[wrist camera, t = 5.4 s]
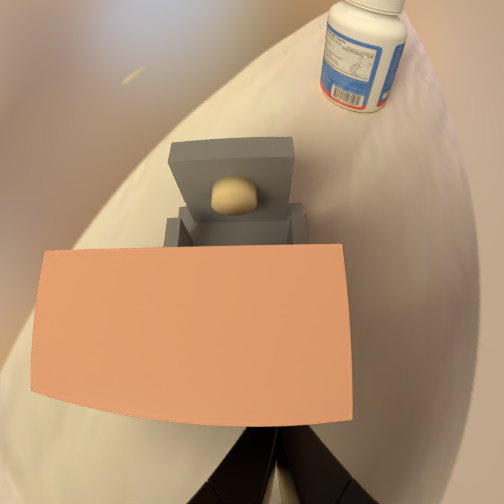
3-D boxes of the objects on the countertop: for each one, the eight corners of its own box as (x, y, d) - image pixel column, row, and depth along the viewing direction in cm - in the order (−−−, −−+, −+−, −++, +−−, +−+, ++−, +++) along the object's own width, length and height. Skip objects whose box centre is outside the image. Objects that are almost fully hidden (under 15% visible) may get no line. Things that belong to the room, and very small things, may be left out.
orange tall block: (285, 387, 12) (351, 453, 2) (192, 386, 12) (31, 417, 3) (284, 333, 13) (342, 244, 3) (193, 333, 13) (45, 250, 4)
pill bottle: (363, 72, 21) (384, -22, 12) (397, 111, 19) (435, 9, 10) (307, 77, 21) (316, -29, 12) (338, 119, 19) (364, -4, 10)
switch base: (309, 405, 13) (340, 431, 7) (174, 403, 13) (119, 423, 7) (300, 212, 16) (315, 137, 11) (184, 215, 16) (150, 145, 11)
